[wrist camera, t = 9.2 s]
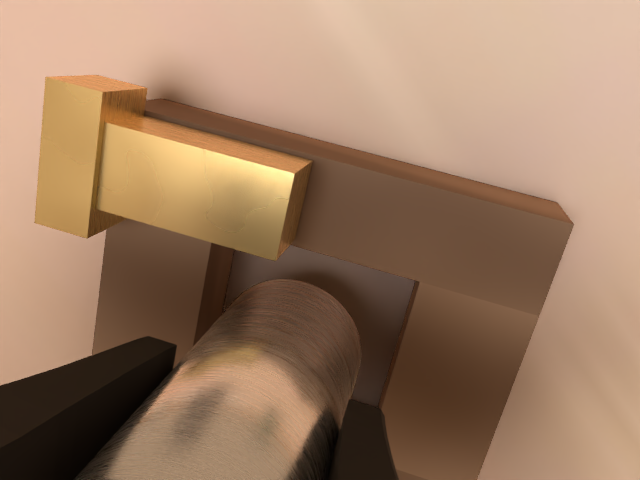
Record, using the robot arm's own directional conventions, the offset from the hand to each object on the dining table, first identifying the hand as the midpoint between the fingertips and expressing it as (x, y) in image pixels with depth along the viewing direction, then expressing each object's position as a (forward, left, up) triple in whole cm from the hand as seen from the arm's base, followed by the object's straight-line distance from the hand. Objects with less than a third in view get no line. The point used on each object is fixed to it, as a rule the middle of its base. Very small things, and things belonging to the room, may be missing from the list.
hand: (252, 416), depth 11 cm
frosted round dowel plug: (0, 0, -3) cm, 3 cm away
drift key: (+4, +3, -3) cm, 5 cm away
